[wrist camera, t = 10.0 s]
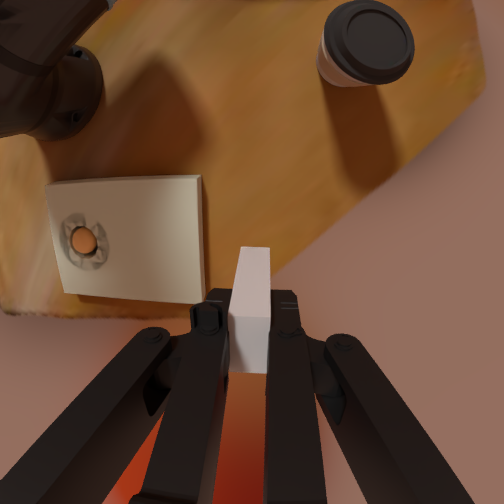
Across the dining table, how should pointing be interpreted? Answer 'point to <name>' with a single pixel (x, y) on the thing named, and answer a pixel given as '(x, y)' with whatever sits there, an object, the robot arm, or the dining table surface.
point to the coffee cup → (364, 45)
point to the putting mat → (131, 237)
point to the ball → (84, 240)
